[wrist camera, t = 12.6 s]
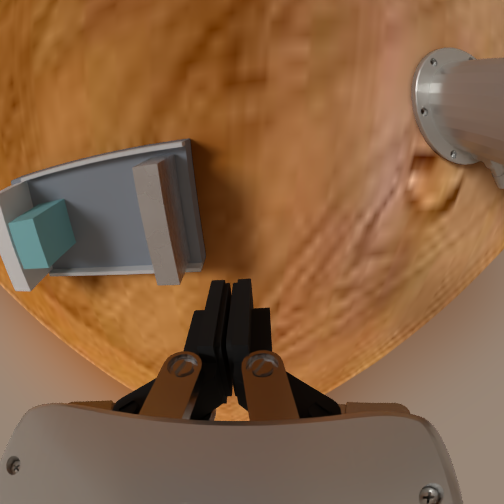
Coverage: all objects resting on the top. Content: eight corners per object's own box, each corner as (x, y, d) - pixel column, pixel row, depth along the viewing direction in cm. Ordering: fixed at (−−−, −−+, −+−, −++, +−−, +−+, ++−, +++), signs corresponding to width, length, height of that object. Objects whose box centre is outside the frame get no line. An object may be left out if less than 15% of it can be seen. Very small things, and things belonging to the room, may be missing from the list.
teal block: (64, 198, 25) (32, 218, 20) (76, 242, 28) (49, 268, 23) (39, 203, 25) (8, 223, 21) (51, 244, 28) (24, 269, 23)
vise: (189, 138, 25) (167, 148, 19) (205, 256, 30) (193, 296, 24) (21, 176, 26) (-18, 195, 20) (46, 264, 31) (17, 294, 25)
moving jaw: (174, 154, 23) (157, 163, 19) (190, 258, 28) (180, 284, 24) (152, 157, 23) (131, 167, 19) (171, 259, 28) (157, 285, 24)
